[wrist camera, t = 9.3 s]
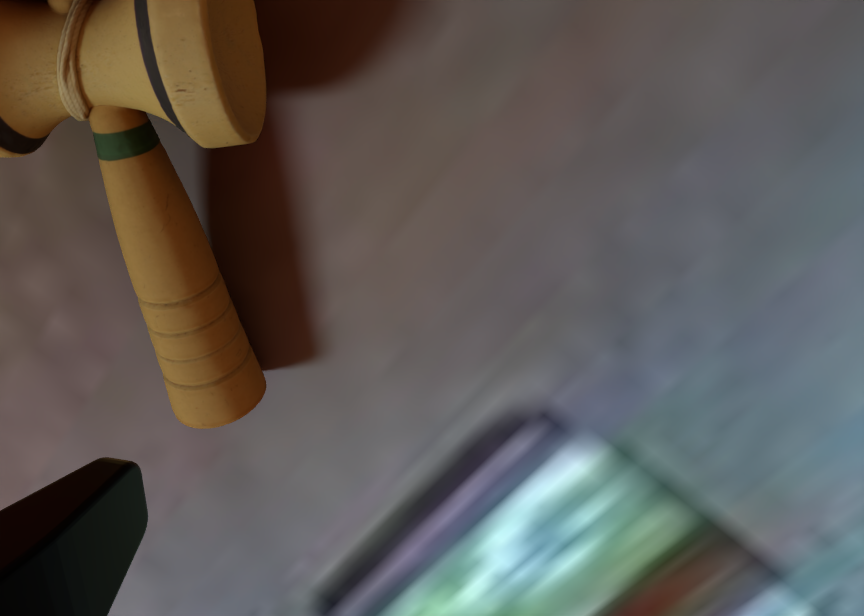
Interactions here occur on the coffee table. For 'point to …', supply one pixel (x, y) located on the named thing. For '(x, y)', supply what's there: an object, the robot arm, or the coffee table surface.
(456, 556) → the coffee table surface
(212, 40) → the kendama
